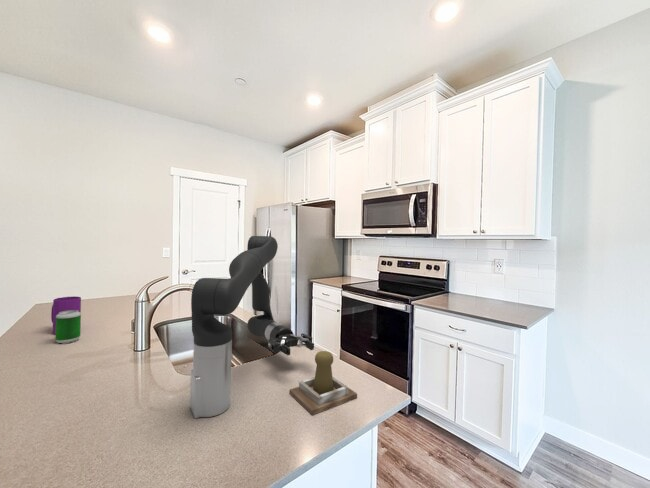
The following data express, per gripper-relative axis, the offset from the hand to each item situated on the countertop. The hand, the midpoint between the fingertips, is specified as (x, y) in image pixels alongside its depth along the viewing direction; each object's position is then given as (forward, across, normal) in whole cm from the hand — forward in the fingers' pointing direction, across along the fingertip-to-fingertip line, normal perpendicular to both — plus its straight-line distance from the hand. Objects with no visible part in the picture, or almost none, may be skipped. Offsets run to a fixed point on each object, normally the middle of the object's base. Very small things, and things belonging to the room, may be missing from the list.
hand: (301, 349), depth 90 cm
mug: (-95, -68, +10) cm, 118 cm away
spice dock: (+12, +1, +9) cm, 15 cm away
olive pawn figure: (+12, +1, +8) cm, 14 cm away
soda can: (-77, -64, +10) cm, 101 cm away
